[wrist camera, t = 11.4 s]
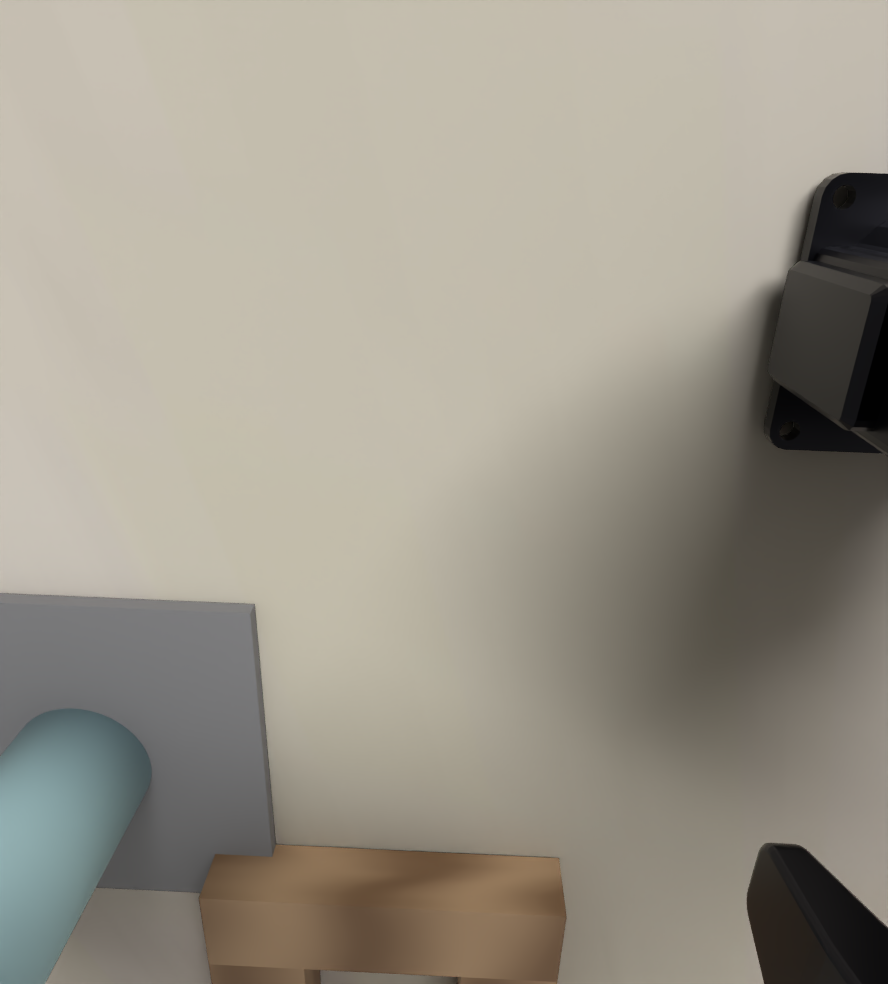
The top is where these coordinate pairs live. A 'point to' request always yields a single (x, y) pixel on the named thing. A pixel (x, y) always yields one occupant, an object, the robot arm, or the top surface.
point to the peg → (60, 829)
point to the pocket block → (382, 916)
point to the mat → (155, 718)
